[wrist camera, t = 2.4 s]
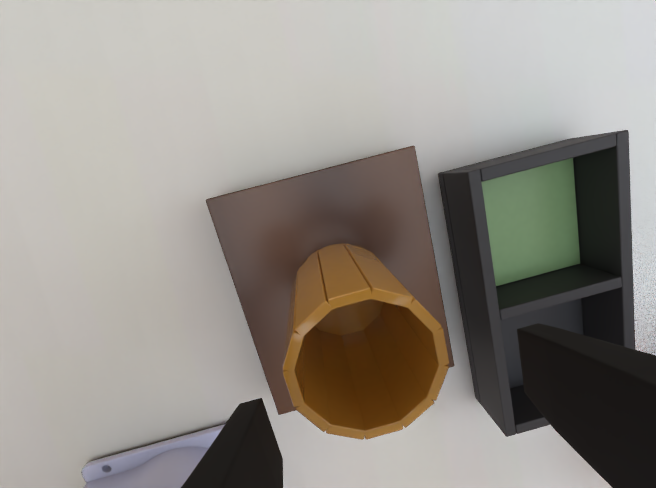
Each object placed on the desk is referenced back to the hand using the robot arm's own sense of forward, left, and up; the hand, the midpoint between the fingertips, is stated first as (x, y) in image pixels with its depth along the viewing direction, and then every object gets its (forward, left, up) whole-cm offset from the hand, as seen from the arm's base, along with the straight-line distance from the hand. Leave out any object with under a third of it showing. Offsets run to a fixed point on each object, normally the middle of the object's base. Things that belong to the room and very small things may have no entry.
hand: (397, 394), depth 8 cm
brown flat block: (-1, 0, -9) cm, 9 cm away
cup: (-1, 0, -7) cm, 7 cm away
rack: (+10, -3, -9) cm, 14 cm away
